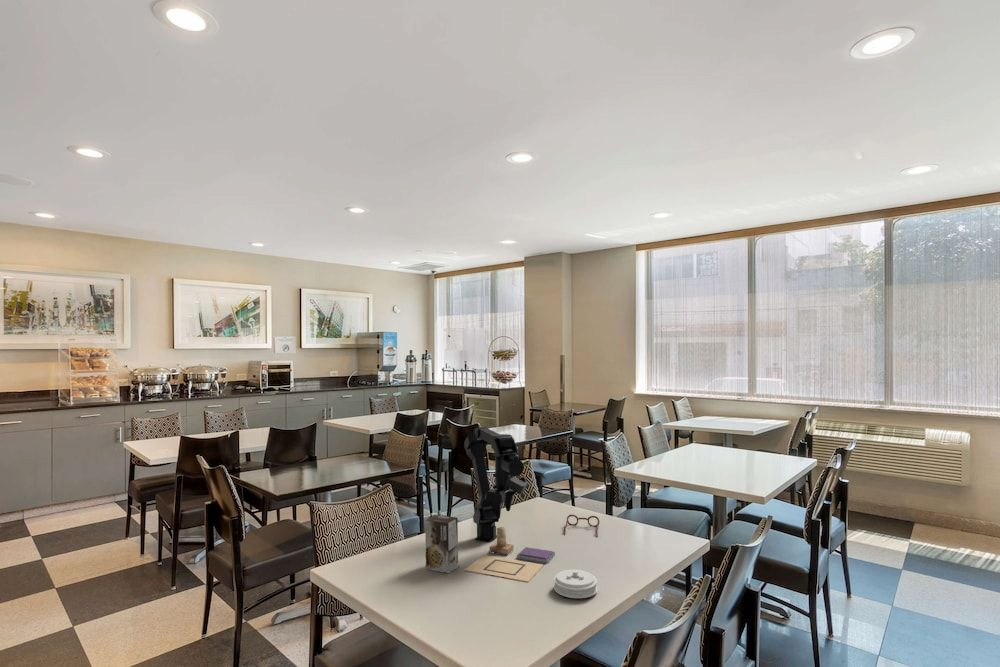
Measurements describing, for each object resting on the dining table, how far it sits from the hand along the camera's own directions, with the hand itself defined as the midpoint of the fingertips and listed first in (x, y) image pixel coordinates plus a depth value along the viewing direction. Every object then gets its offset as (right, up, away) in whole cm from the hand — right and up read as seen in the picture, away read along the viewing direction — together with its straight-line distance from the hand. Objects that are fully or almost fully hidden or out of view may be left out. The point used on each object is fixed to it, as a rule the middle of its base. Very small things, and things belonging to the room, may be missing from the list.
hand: (503, 514), depth 189 cm
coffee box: (-20, -13, -15) cm, 28 cm away
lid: (+21, -12, -33) cm, 41 cm away
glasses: (+31, -14, +21) cm, 40 cm away
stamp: (-1, -13, -1) cm, 13 cm away
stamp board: (0, -12, -15) cm, 20 cm away
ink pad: (+11, -13, -6) cm, 18 cm away
